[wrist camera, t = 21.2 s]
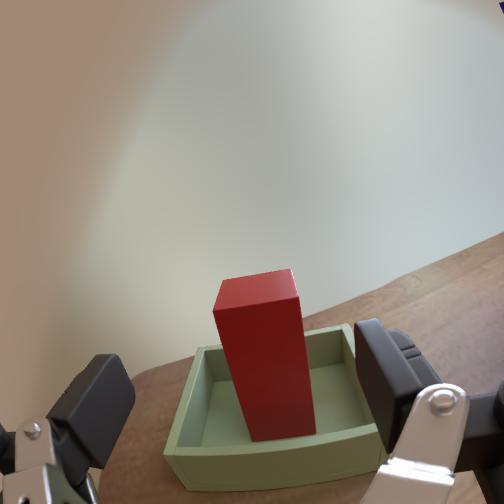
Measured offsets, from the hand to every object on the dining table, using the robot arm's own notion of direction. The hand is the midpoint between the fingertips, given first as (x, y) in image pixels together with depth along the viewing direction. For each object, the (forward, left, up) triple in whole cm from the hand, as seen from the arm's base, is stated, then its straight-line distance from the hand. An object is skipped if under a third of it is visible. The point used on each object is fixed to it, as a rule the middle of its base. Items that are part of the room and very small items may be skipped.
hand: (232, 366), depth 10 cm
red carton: (0, +10, -14) cm, 17 cm away
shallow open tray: (0, +10, -15) cm, 18 cm away
